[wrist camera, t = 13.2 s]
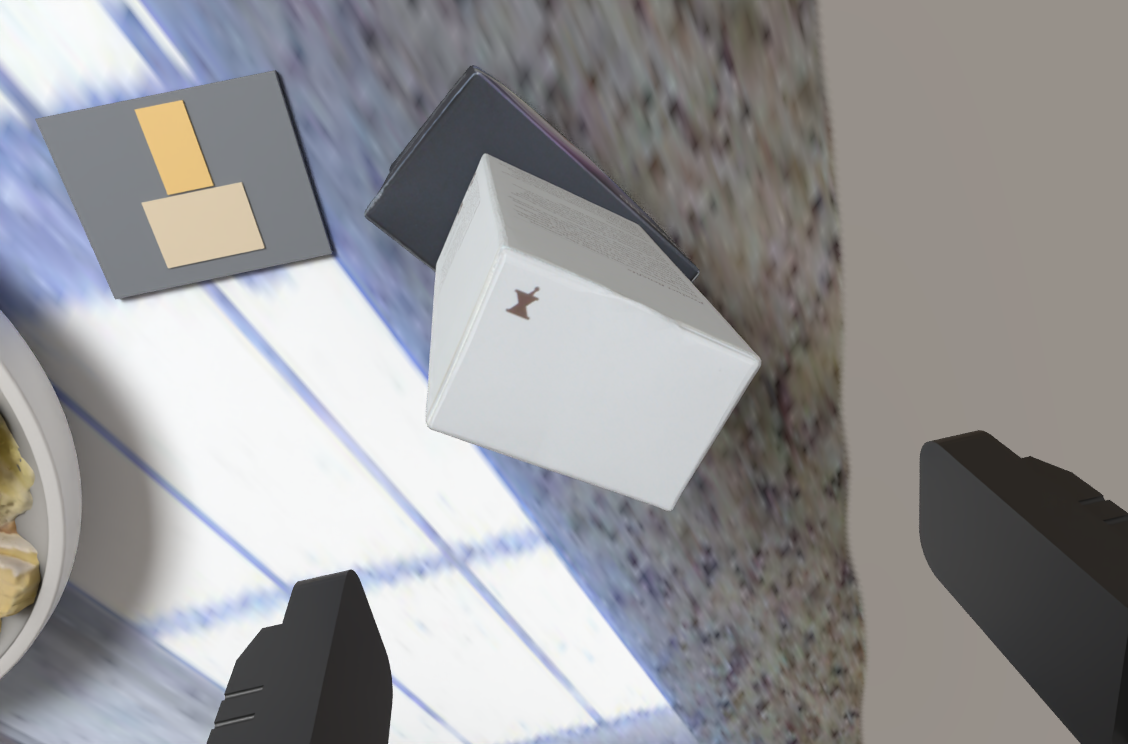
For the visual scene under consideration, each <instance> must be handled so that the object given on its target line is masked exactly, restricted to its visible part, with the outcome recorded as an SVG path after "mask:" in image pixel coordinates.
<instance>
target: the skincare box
mask: <svg viewBox="0 0 1128 744" xmlns="http://www.w3.org/2000/svg"><path fill="white" fill-rule="evenodd" d="M760 367H761V359H760V357H759V356H758V355H757V354H756V353H755V352H754V351H753V350H752V349H751V348H750V347H749V345H748V344H747V343H746V342H745V341H744V340H743V339H742V338H741V336H740V335H739V334H738V333H737V332H736V331H735V330H734V329H733V328H732V326H731V325H730V324H729V323H728V322H727V321H726V320H725V319H724V318H723V317H722V315H721V314H720V313H719V312H718V311H717V310H716V309H715V308H714V307H713V305H712V304H711V303H710V302H709V301H708V300H707V299H706V298H705V297H704V296H703V295H702V294H701V292H700V291H699V290H698V289H697V288H696V287H695V286H694V285H693V284H692V283H691V281H690V280H689V279H688V278H687V277H686V276H685V275H684V274H683V273H682V272H681V271H680V269H679V268H678V267H677V266H676V265H675V264H674V263H673V262H672V261H671V260H670V258H669V257H668V256H667V255H666V254H665V253H664V252H663V251H662V250H661V249H660V248H659V246H658V245H657V244H656V243H655V242H654V241H653V240H652V239H651V238H650V236H649V235H648V234H647V233H646V232H645V231H644V230H643V229H642V228H641V227H640V226H639V225H638V224H636V223H634V222H632V221H630V220H628V219H625V218H623V217H621V216H619V215H617V214H615V213H613V212H611V211H608V210H606V209H604V208H602V207H600V206H598V205H596V204H593V203H591V202H589V201H587V200H585V199H583V198H581V197H578V196H576V195H574V194H572V193H570V192H568V191H566V190H564V189H562V188H559V187H557V186H555V185H553V184H551V183H549V182H547V181H544V180H542V179H540V178H538V177H536V176H534V175H531V174H529V173H527V172H525V171H523V170H521V169H518V168H516V167H514V166H512V165H510V164H508V163H506V162H503V161H501V160H499V159H497V158H495V157H493V156H491V155H489V154H483V156H482V158H481V160H480V163H479V165H478V167H477V170H476V172H475V174H474V176H473V179H472V181H471V183H470V185H469V188H468V190H467V192H466V194H465V197H464V199H463V201H462V203H461V206H460V208H459V211H458V213H457V216H456V218H455V221H454V223H453V225H452V228H451V230H450V233H449V235H448V237H447V240H446V242H445V245H444V247H443V250H442V252H441V254H440V256H439V259H438V261H437V264H436V277H435V287H434V303H433V318H432V335H431V349H430V362H429V374H428V375H429V380H428V394H427V404H426V423H427V426H428V427H429V428H430V429H431V430H434V431H438V432H441V433H444V434H446V435H449V436H452V437H455V438H458V439H460V440H463V441H466V442H469V443H472V444H475V445H478V446H480V447H483V448H486V449H489V450H492V451H495V452H498V453H501V454H503V455H506V456H509V457H512V458H515V459H518V460H521V461H524V462H527V463H530V464H533V465H536V466H539V467H542V468H545V469H548V470H551V471H554V472H557V473H560V474H563V475H566V476H569V477H572V478H575V479H578V480H581V481H584V482H587V483H589V484H592V485H595V486H598V487H601V488H604V489H607V490H610V491H613V492H616V493H619V494H622V495H624V496H627V497H630V498H633V499H636V500H639V501H642V502H644V503H647V504H650V505H653V506H656V507H659V508H661V509H663V510H665V511H671V510H672V509H673V508H674V506H675V504H676V502H677V501H678V499H679V497H680V495H681V494H682V492H683V490H684V488H685V487H686V485H687V484H688V482H689V480H690V479H691V477H692V476H693V474H694V472H695V471H696V469H697V468H698V466H699V464H700V463H701V461H702V460H703V458H704V456H705V455H706V453H707V452H708V450H709V448H710V447H711V445H712V444H713V442H714V440H715V439H716V437H717V436H718V434H719V432H720V431H721V429H722V428H723V426H724V424H725V423H726V421H727V419H728V418H729V416H730V415H731V413H732V411H733V410H734V408H735V406H736V405H737V403H738V402H739V400H740V398H741V397H742V395H743V394H744V392H745V390H746V389H747V387H748V386H749V384H750V382H751V381H752V379H753V378H754V376H755V375H756V373H757V372H758V370H759V368H760Z"/></svg>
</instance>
